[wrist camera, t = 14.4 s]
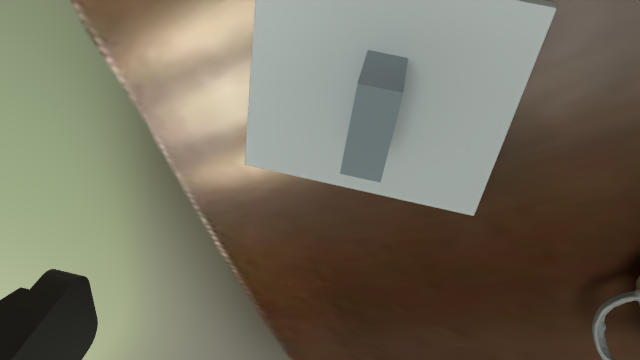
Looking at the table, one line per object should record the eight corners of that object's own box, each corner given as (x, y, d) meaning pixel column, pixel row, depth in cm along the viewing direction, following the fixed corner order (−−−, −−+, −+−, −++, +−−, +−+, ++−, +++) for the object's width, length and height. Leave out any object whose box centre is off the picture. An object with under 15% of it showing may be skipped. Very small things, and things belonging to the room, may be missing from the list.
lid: (549, -5, 31) (575, 39, 25) (472, 196, 40) (477, 263, 34) (269, -58, 32) (230, -29, 26) (253, 148, 41) (222, 204, 35)
